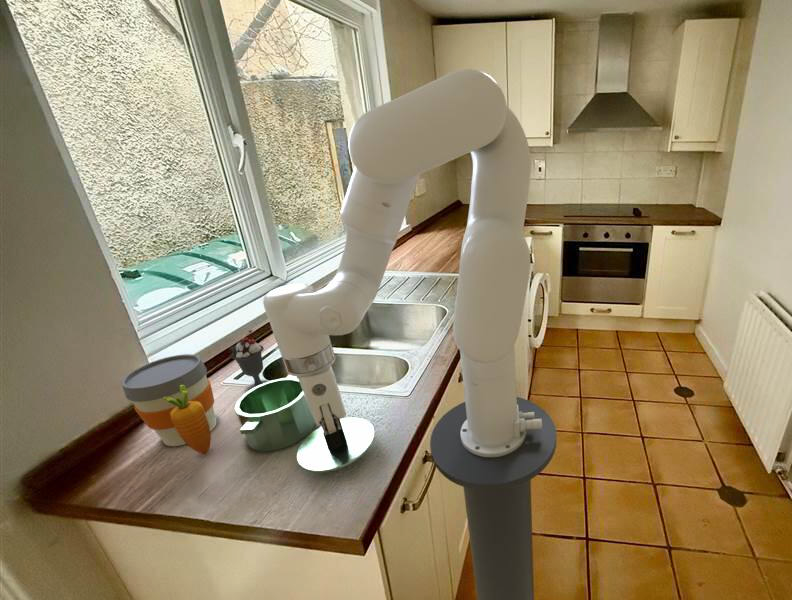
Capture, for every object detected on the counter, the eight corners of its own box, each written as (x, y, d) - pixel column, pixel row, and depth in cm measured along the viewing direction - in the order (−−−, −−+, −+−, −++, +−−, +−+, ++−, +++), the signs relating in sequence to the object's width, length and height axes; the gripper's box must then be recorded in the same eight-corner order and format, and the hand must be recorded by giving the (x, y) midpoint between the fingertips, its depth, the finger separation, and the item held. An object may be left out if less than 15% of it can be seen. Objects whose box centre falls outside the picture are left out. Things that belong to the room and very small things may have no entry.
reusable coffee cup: (220, 403, 90) (197, 347, 84) (232, 429, 82) (207, 368, 76) (149, 431, 82) (118, 371, 76) (154, 463, 74) (120, 398, 68)
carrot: (199, 466, 73) (168, 400, 67) (184, 458, 75) (152, 394, 69) (226, 448, 77) (199, 384, 71) (211, 441, 79) (184, 379, 73)
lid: (384, 419, 79) (377, 392, 77) (362, 472, 67) (353, 442, 64) (317, 424, 80) (308, 397, 77) (283, 478, 67) (271, 448, 64)
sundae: (281, 381, 98) (264, 327, 92) (258, 397, 92) (238, 341, 86) (261, 377, 100) (242, 325, 94) (237, 393, 94) (216, 338, 88)
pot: (331, 400, 90) (322, 369, 86) (292, 460, 73) (280, 424, 70) (276, 403, 89) (265, 372, 86) (225, 464, 73) (209, 428, 70)
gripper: (341, 370, 61) (366, 459, 68) (326, 332, 74) (349, 411, 81) (287, 388, 57) (320, 479, 65) (282, 345, 70) (310, 425, 78)
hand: (336, 441), depth 73 cm, fingers closed on lid, 2 cm apart
